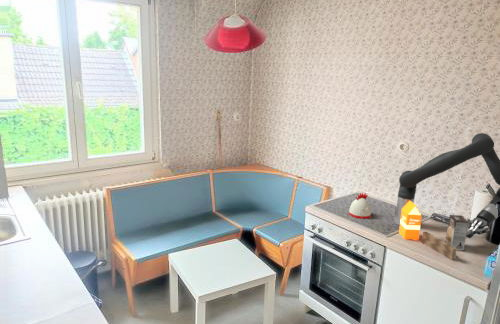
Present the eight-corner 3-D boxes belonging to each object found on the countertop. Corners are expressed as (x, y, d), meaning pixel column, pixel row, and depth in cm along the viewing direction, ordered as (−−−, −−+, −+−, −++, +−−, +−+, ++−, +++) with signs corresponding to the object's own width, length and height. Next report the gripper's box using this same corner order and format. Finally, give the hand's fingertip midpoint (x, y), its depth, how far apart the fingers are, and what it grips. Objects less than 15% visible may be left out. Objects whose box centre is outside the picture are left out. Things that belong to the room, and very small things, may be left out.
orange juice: (412, 233, 198) (416, 200, 194) (418, 239, 190) (423, 206, 185) (398, 232, 199) (402, 199, 194) (404, 239, 190) (408, 205, 185)
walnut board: (421, 242, 187) (423, 231, 186) (424, 241, 188) (426, 231, 186) (451, 260, 168) (453, 249, 167) (454, 259, 169) (456, 248, 167)
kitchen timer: (375, 217, 220) (377, 195, 216) (356, 219, 216) (358, 197, 213) (362, 210, 233) (364, 189, 229) (344, 211, 229) (346, 190, 226)
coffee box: (444, 241, 188) (449, 214, 184) (457, 242, 187) (462, 215, 183) (450, 249, 179) (455, 220, 176) (464, 250, 178) (469, 222, 174)
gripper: (475, 205, 190) (454, 227, 189) (497, 214, 177) (475, 238, 177) (481, 213, 192) (460, 235, 192) (503, 222, 180) (481, 246, 179)
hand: (467, 236), depth 184 cm, fingers closed
